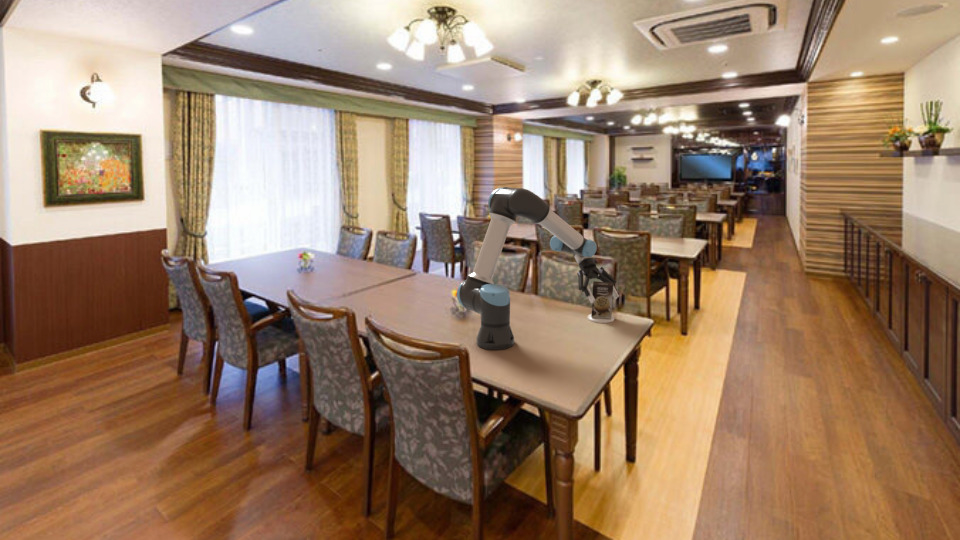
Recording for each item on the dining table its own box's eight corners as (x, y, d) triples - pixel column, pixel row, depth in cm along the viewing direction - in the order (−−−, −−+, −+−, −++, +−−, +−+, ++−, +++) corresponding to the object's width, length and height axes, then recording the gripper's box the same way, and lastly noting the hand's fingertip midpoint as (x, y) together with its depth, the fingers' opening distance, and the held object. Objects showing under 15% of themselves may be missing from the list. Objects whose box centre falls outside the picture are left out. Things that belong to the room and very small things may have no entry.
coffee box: (591, 318, 224) (592, 284, 220) (591, 314, 230) (593, 280, 226) (611, 320, 221) (613, 285, 217) (612, 315, 227) (613, 281, 224)
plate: (599, 324, 218) (599, 322, 218) (582, 317, 228) (582, 315, 228) (620, 320, 223) (620, 318, 223) (602, 313, 233) (602, 311, 233)
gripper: (602, 262, 239) (622, 300, 230) (560, 268, 229) (579, 307, 219) (610, 254, 233) (630, 291, 224) (567, 259, 223) (586, 299, 213)
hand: (605, 299), depth 221 cm, fingers open, 13 cm apart
